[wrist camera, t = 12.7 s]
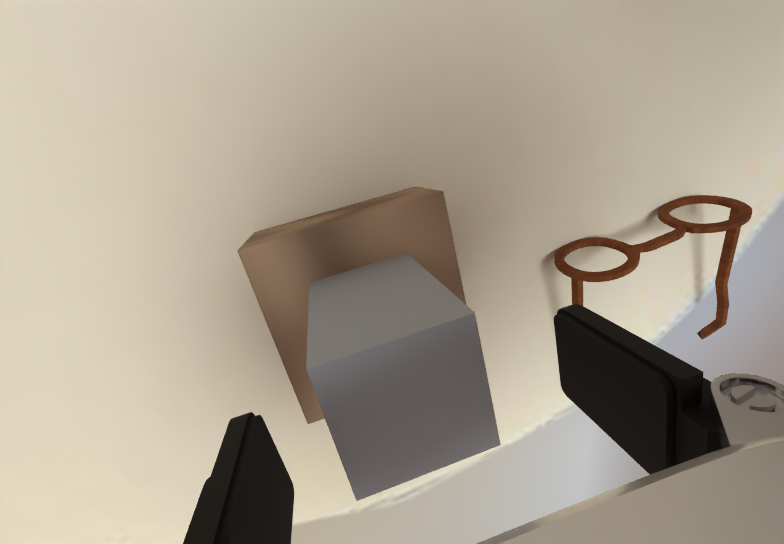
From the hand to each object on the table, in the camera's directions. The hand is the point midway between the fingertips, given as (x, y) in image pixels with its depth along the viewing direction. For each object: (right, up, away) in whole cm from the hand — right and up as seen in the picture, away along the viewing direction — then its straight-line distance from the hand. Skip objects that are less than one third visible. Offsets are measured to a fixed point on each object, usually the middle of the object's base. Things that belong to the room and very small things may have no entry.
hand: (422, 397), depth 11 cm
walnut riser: (-3, +3, +12) cm, 13 cm away
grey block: (-2, +2, +8) cm, 8 cm away
